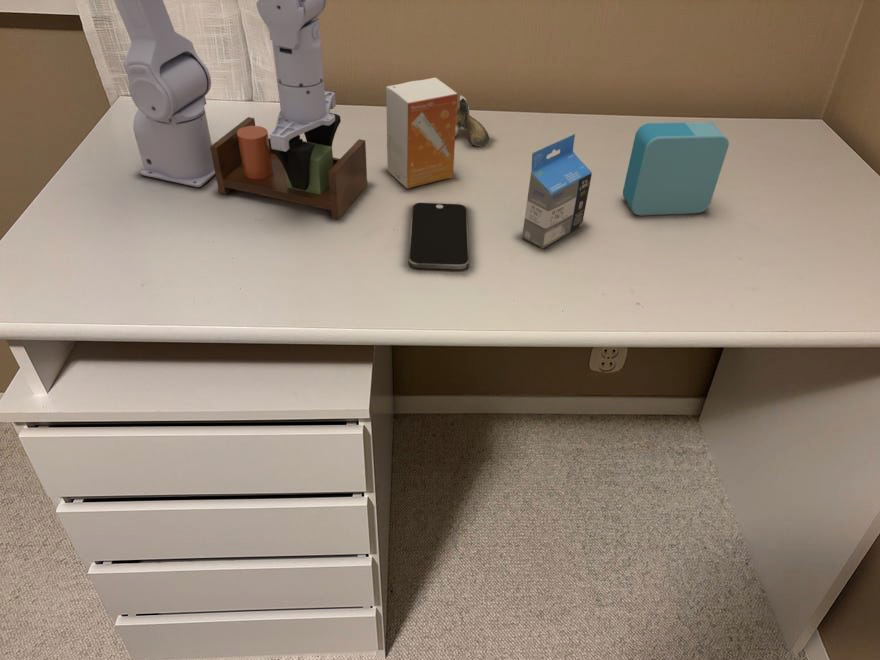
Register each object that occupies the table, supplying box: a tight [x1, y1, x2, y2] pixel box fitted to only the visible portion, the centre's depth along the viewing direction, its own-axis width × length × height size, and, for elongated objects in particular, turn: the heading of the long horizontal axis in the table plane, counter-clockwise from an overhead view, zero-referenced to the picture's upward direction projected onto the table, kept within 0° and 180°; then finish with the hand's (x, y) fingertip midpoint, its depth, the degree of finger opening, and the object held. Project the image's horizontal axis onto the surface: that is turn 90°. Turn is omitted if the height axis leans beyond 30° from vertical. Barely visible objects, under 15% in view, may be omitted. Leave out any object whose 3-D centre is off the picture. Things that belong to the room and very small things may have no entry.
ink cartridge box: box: [521, 133, 593, 249], centre depth 95 cm, size 9×4×12 cm, turn 137°
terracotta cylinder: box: [237, 125, 273, 180], centre depth 99 cm, size 4×4×6 cm
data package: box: [622, 121, 730, 216], centre depth 102 cm, size 12×4×12 cm, turn 100°
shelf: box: [210, 116, 368, 220], centre depth 101 cm, size 10×18×7 cm, turn 74°
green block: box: [285, 140, 334, 195], centre depth 98 cm, size 5×4×5 cm
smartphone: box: [408, 202, 470, 270], centre depth 96 cm, size 8×1×15 cm
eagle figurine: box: [455, 95, 490, 148], centre depth 117 cm, size 8×7×9 cm
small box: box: [385, 77, 458, 190], centre depth 104 cm, size 8×6×13 cm
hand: (310, 177), depth 99 cm, fingers open, 6 cm apart
